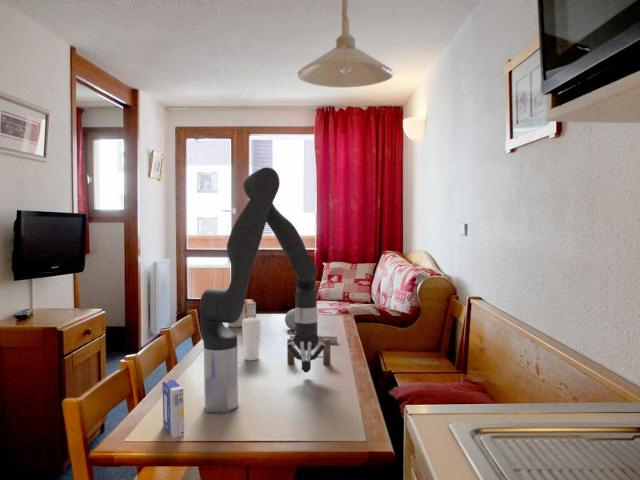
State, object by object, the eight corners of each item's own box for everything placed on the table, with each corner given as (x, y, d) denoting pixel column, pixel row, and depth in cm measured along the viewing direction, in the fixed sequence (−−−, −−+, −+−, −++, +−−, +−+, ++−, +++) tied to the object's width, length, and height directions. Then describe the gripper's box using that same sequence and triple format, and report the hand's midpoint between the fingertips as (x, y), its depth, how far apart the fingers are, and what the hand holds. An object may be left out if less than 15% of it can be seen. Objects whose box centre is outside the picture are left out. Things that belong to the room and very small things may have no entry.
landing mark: (328, 357, 171) (328, 356, 171) (292, 356, 172) (292, 356, 172) (329, 346, 185) (329, 346, 185) (295, 346, 186) (295, 346, 186)
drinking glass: (257, 362, 165) (256, 321, 165) (239, 361, 167) (239, 321, 166) (263, 356, 172) (262, 317, 171) (246, 355, 173) (246, 317, 173)
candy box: (244, 331, 210) (244, 299, 210) (253, 331, 212) (253, 298, 211) (247, 336, 202) (246, 302, 201) (256, 335, 203) (256, 302, 202)
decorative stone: (282, 328, 217) (282, 307, 216) (302, 326, 220) (302, 306, 220) (288, 333, 207) (288, 311, 207) (308, 331, 211) (308, 310, 210)
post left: (294, 364, 162) (294, 340, 162) (287, 364, 162) (286, 340, 162) (294, 362, 165) (294, 338, 164) (287, 362, 165) (287, 338, 165)
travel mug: (245, 323, 226) (245, 288, 225) (243, 327, 218) (243, 290, 217) (229, 323, 226) (229, 288, 225) (227, 327, 218) (226, 291, 217)
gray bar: (337, 343, 190) (337, 336, 190) (289, 343, 191) (289, 336, 191) (337, 342, 192) (337, 335, 192) (290, 341, 193) (290, 334, 193)
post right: (330, 365, 162) (330, 340, 161) (323, 365, 162) (323, 340, 161) (330, 362, 164) (330, 338, 164) (323, 362, 164) (323, 338, 164)
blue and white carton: (163, 426, 114) (162, 380, 114) (174, 423, 116) (173, 378, 115) (173, 438, 108) (172, 389, 107) (184, 435, 109) (183, 387, 109)
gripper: (284, 322, 145) (285, 375, 146) (325, 322, 144) (325, 375, 145) (287, 317, 152) (287, 367, 153) (326, 317, 152) (326, 368, 152)
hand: (306, 371), depth 149 cm, fingers closed
